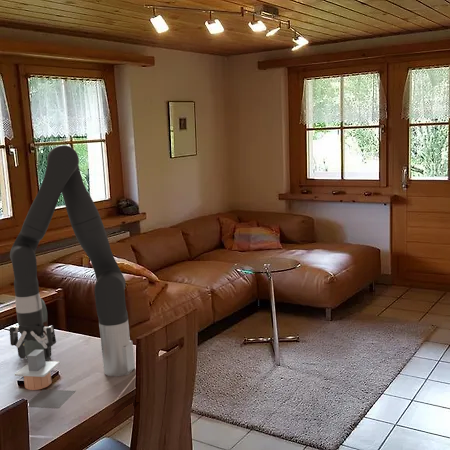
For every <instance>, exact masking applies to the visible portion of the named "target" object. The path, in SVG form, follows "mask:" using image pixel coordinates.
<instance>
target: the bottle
mask: <svg viewBox="0 0 450 450" xmlns="http://www.w3.org/2000/svg"><path fill="white" fill-rule="evenodd" d="M40 298H41V304H42V312H43V325H44V326H45V327H49V326H48V309H47V306H46V302H45V301H44V299H43V298H42V297H41V296H40ZM44 334H45V335H46V336H47V334H46V332H45V331H44ZM40 338H41V339H42V337H40ZM47 339H48V337H47ZM24 346H25V354H26V356H25V360H26V361H27V363H28V359H27V355H29V354H30V353H31V352H33V351H34V350H44V347H43V345H42V344H41V343H39V342H38V341H37V340H36V341H33V340H29V341H27V340H26V341H25V342H24ZM51 357H52V355H51V356H50V358H49V359H45V361H49V360H50V359H51Z"/></svg>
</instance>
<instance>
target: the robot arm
mask: <svg viewBox="0 0 450 450" xmlns="http://www.w3.org/2000/svg"><path fill="white" fill-rule="evenodd" d="M79 159H80V158H79V155H78V153H77V151H76V150H75V149H74V148H73V147H72V146H70V145H65V144H61V145H57V146H55V147H53V148H52V149H51V150H49V152H48V155H47V158H46V162H47V164H46V169H45V173H44V176H43V180H42V183H41V185H40V187H39V190H38V192H37V194H36V196H35V198H34V199H33V201H32V203H31V205H30V208H29V209H28V211H27V215H26V217H25V218H24V221H23V224H22V226H21V230H20V232H19V233H18V234H17V236H16V239H14V242H13V244H12V245H11V246H12V247H11V249H10V252H9V259H10V261H11V264H12V270H13V276H14V277H13V278H14V280H13V287H14V296H15V302H14V303H15V311H16V319H17V324H14V325H12V326H11V327H9V339H10V346H12V347H13V346H15V347H16V349H17V355H18V357H19V358H20V359H21V360H22V359H25V358H26V354H25V346H24V345H23V344H24V342H25V341H26V340H27V341H29V340H33V341H36V340H37V341H38V342H39V343H41V344H42V345H43V347H44V356H45V359H49V358H50V356H51V357H52V347H53V346H54V345H55V344H56V343H57V339H56V334H55V328H54V325H53V324H51V325H49V326H48V327H45V326H44V325H43V312H42V304H41V298H42V297H41V294H40V288H39V280H38V267H37V266H38V265H37V264H38V263H37V255H36V250H37V248H38V245H39V243H40V241H42V240H43V238H44V237H45V235H46V233H47V230H48V229H49V225H50V223H51V221H52V218H53V216H54V212H55V210H56V208H57V204H58V201H59V200H60V197H61V195H62V197H63V202H64V205H65V210H66V213H67V216H68V219H69V223H70V226H71V228H72V230H73V234H74V235H75V237H76V240H77V242H78V244H79V245H80V247H81V248H82V250H83V251H84V252H85V254H86V256H87V257H88V259H89V260H90V263H91V266H92V268H93V272H94V275H95V278H96V282H95V285H94V300H95V308H96V314H97V317H98V327H99V335H100V344H101V346H100V347H101V354H102V355H101V356H102V357H101V358H102V365H103V367H102V368H103V373H104V374H105V376H108V377H121V376H128V375H130V374H131V373H132V372H133V370H134V369H135V368H136V367H135V355H134V354H135V353H134V344H133V340H131V337H130V325H129V315H128V311H127V303H126V293H125V290H126V285H127V284H126V279H125V277H124V275H123V272H122V271H121V269H120V267H119V265H118V263H117V261H116V259H115V256H114V255H113V252H112V249H111V245H110V241H109V238H108V235H107V232H106V229H105V226H104V223H103V220H102V217H101V215H100V213H99V211H98V208H97V206H96V204H95V203H94V200H93V199H92V196H91V195H90V193H89V191H88V190H87V187H86V186H85V184H84V180H83V178H82V173H81V170H80V167H79V163H80V160H79ZM40 297H41V298H40ZM44 331H45V332H46V334H47V336H46V335H45V334H44ZM18 333H19V334H20V337H19V334H18ZM40 337H42V339H41V338H40ZM47 337H48V339H47ZM50 359H51V358H50ZM50 359H49V360H50Z"/></svg>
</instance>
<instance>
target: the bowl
mask: <svg viewBox="0 0 450 450" xmlns="http://www.w3.org/2000/svg"><path fill="white" fill-rule="evenodd" d="M51 374H52V373H51V371H50V372H49V373H48V374H47V375H46V376H45V377H35V376H23V383H24V388H25V389H26V390H29V391H34V390H35V391H37V390H38V391H39V390H41V389H42V390H43V389H45V388H47V387H49V386H50V385H51V384H52V381H53V380H52V375H51Z"/></svg>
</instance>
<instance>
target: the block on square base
mask: <svg viewBox="0 0 450 450" xmlns="http://www.w3.org/2000/svg"><path fill="white" fill-rule="evenodd" d="M27 359H28V362H27V363H26V365H25V364H24V366H23V367H21V368H20V369H18V370H17V371H16V372H15V373H14V374H13V375H14V377H24V376H35V377H45V376H46V375H47V374H48V373H49V372H50V373H51V372H52V371H53V370H54V369H55V368H56V367H57V366H58V365H59V366H60V363H61V362H60V361H49V360H48V361H45V356H44V350H34V351H33V352H31V353H30V354H29V355H27ZM27 359H26V360H27Z"/></svg>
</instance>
